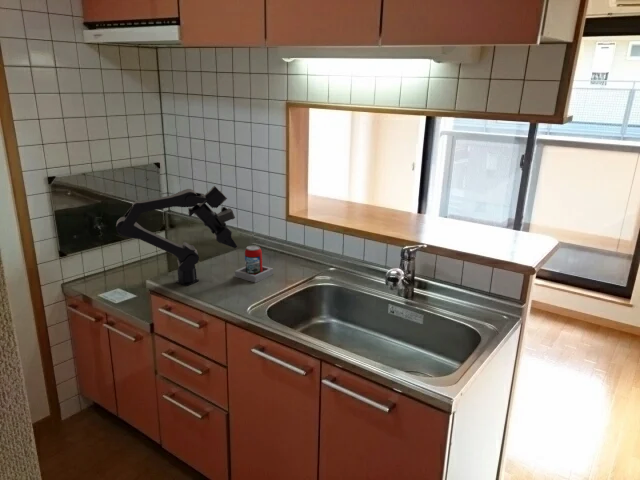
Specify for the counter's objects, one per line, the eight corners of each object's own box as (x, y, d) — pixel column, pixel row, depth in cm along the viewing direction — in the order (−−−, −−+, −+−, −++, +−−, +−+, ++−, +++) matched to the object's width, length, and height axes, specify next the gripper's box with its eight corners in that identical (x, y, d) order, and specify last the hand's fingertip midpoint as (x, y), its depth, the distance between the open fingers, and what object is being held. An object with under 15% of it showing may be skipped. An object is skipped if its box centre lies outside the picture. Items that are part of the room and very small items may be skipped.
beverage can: (243, 277, 200) (241, 249, 196) (250, 271, 206) (248, 244, 203) (258, 279, 198) (257, 250, 195) (265, 273, 204) (264, 245, 201)
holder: (255, 282, 195) (255, 276, 194) (235, 276, 201) (234, 270, 200) (273, 274, 204) (273, 268, 203) (253, 268, 209) (253, 263, 209)
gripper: (227, 207, 183) (254, 236, 190) (218, 196, 200) (244, 224, 207) (204, 228, 182) (232, 256, 189) (197, 215, 199) (223, 242, 206)
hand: (233, 243), depth 198 cm, fingers open, 9 cm apart
